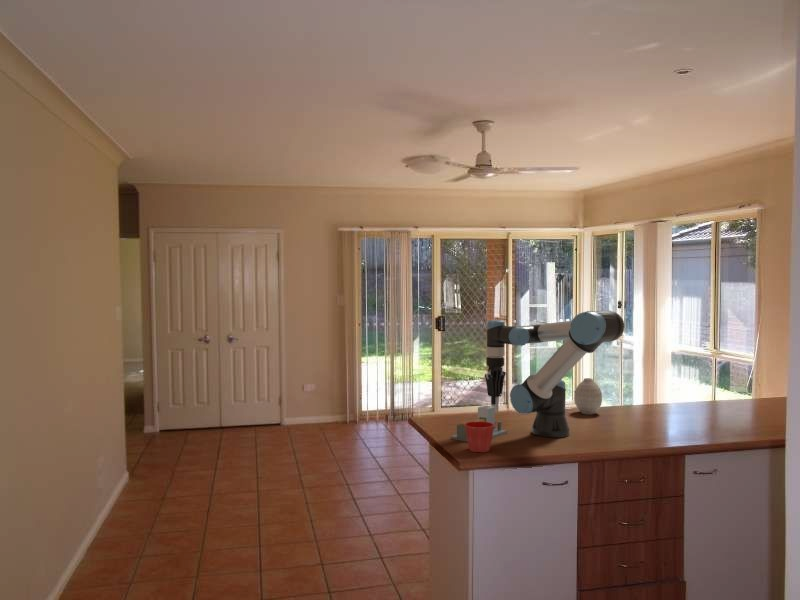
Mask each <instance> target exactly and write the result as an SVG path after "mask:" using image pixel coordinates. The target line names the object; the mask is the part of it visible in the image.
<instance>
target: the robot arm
mask: <svg viewBox="0 0 800 600" xmlns="http://www.w3.org/2000/svg"><path fill="white" fill-rule="evenodd" d="M624 331H625V322H624V319H623V317H622V316H621V315H620V314H619V313H617V312H615V311H612V310H597V311H594V310H587V311H584V312H580V313H578V314H576V315H575V316H574V317H573V318H572V319H571V320H567V321H566V320H565V321H558V322H551V323H543V324H534V325H533V324H532V325H520V326H519V325H516V326H510V325H509V326H508V325H506V323H505V321H504V320H502V319H501V320H499V319H498V320H497V319H496V320H495V319H493V320H488V321H487V323H486V356H487V357H486V360H485V361H486V366H487V367H488V370H487V373H485V374H484V378H485V382H486V390H487V395H488V397H490V403H491V404H490V406H491V407H495V413H499V409H500V407H499V402H500V400H499V399H500V398H501V397H502V394H503V389H504V382H505V376H506V371H503V367H504V366H505V358H504V356H505V345H512V346H525V345H526V344H527V345H528V344H540V343H546V342H548V343H549V342H558V341H560V342H561V341H564V342H563V343H562V344H561V345H560V347H559V348H557V350H556V351H555V352H554V354H552V356H551V357H550V358H549V359H548V360H547V361H546V362H545V364H544V365H543V366H541V367H540V369H539V370H538V371H537V372H536V373H535V374H531V375H529V376H528V377H527V378H526V379H525V380H524V381H523V382H522V383H521V384H520V383H519V384H515V385H514V386H513V387H512V388H511V389H510V393H509V397H510V399H509V400H510V403H511V406H512V407H513V409H514V410H515V411H516V412H517V413H519V414H521V415H525V414H526V415H527V414H531V413H535V417H534V420H533V424H532V428H531V433H532V434H533V435H534V436H539V437H545V438H564V437H565V438H566V437H568V436H569V435H570V427H569V426H570V425H569V424H568V421H567V418H566V393H567V392H566V391H567V388H566V381H564V380H563V378H565V377H566V376H567V375H568V373H569V372H570V371H571V370H572V369H574V367H575V366H576V365H577V364H578V363H579V362H580V361H581V360H582V358H583V357H584V356H585V355H586V354H593V353H594V352H595V351H596V350H597V349H598V348H599V347H600V346H601V345H602V344H604V343H611V342H614V341H617V340H618V339H619V338H621V337H622V336H623V333H624Z"/></svg>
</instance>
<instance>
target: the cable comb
mask: <svg viewBox="0 0 800 600" xmlns="http://www.w3.org/2000/svg"><path fill="white" fill-rule="evenodd" d="M475 421H480V422H486V418H482V419H479V420H478V419H475V420H472V421H471V422H475ZM466 423H467V422H464V421H460V422H459V424H456V434H454V435H451V436H450V439H452V440H456V441H461V442H466V443H468V441H467V436H466V430H465V424H466ZM502 426H503V425H502V421H500V420H498V421H497V428H496V426H495V427H494V429H493V435H492V439H494V438H496V437H500V436H502V435H506V434H507V433H508V430H506V429H502ZM505 433H506V434H505Z"/></svg>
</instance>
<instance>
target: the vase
mask: <svg viewBox="0 0 800 600" xmlns="http://www.w3.org/2000/svg"><path fill="white" fill-rule="evenodd" d="M573 396H574V397H573V398H574V404H575V406H576V408H577V410H578V411H579V412H580V413H581V414H583V415H591V416H592V415H595V414H597V412H598V411H599V409H600V408H601V406H602V403H603V394H602V391H601V389H600V387H599V385H598V384H597V383H596V382H595V381H594V380H593V378H592V377H587V378H583V380H582V381H581V382H580V383H579V384H578V385H577V386H576V389H575V390H574V395H573Z"/></svg>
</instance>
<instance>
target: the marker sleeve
mask: <svg viewBox="0 0 800 600" xmlns="http://www.w3.org/2000/svg"><path fill="white" fill-rule="evenodd" d="M495 413H496V412H495V407H491V405H481V406H478V407H477V420H479V419H482V418H486V422H489V423H492V424H494V427H495V428H496V421H495V417H496V414H495Z"/></svg>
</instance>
